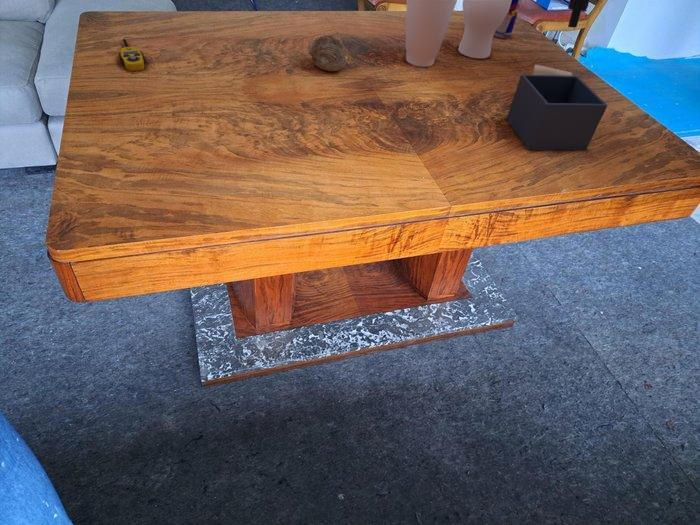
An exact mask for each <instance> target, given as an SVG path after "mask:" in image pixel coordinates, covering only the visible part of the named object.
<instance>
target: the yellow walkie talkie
mask: <svg viewBox="0 0 700 525" xmlns="http://www.w3.org/2000/svg"><path fill="white" fill-rule="evenodd" d="M122 41H123V44H124V46H125V47H121V49H120V51H119V55H118V56H119V59H120V60H119V61H120V63H121V65H122V66H123V67H124V68H125V69H127V70H128V71H130V72H137V71H143V70H144V69H145V66H146V59H145V56H144V53H143V51H141V50H140V49H138V47H135V46H129V45H128V42H127V40H126V38H123V39H122Z"/></svg>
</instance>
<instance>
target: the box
mask: <svg viewBox="0 0 700 525" xmlns="http://www.w3.org/2000/svg"><path fill="white" fill-rule="evenodd" d="M607 108H608V104H607V103H606V102H605V101H604V100H603V99H602V98H601V97H600V96H599V95H598V94H597V93H596V92H595V91H594V90H593V89H592V88H591V87H590V86H588V85H587V83H585V81H584V80H582V78H580V76H578V75H572V76H563V75H532V74H520V77H519V80H518V82H517V86H516V88H515V92H514V95H513V98H512V101H511V104H510V107H509V110H508V112H507V116H506V120H507V122H508V123H509V125H510V126H511V127H512V128H513V130H514V131H515V133H516V134H517V136H518V137H519V139H520V140H521V141H522V143H523V144H524V145H525V148H527V150H528V151H587V149H588V147H589V145H590V143H591V141H592V139H593V137H594V134H596V133H595V132H596V130H597V128H598V127H599V124H600V122H601V120H602V118H603V116H604V114H605V111H606V109H607Z"/></svg>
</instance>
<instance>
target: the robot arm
mask: <svg viewBox="0 0 700 525" xmlns="http://www.w3.org/2000/svg"><path fill="white" fill-rule="evenodd" d="M589 3H590V0H569V2H568V6H567V9H568V10H571V13H570V18H569V21H568V25H567V27H568V28H573V29H575V28H577V27H578V23H579V20H580V17H581V12H586V10H587V9H588V7H589Z"/></svg>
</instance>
